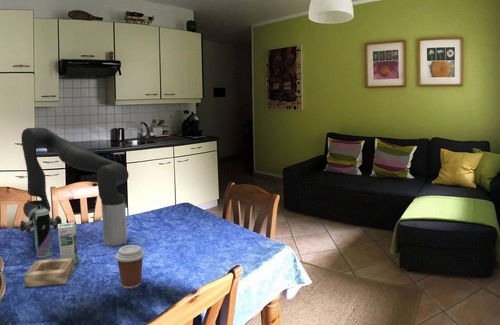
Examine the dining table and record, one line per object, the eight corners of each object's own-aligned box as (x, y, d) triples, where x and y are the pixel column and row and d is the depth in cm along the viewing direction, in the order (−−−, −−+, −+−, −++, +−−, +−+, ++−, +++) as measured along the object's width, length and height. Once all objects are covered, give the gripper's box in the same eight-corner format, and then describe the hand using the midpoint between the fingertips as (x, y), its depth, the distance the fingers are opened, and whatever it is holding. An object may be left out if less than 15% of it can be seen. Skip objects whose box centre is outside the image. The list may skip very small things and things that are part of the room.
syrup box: (61, 266, 140) (58, 228, 138) (60, 260, 146) (57, 223, 143) (78, 263, 143) (75, 225, 141) (77, 258, 148) (74, 221, 146)
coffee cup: (118, 292, 122) (116, 256, 120) (115, 280, 130) (113, 246, 128) (148, 287, 125) (146, 251, 124) (143, 275, 134) (142, 242, 132)
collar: (74, 268, 139) (73, 257, 138) (65, 283, 127) (64, 272, 127) (37, 271, 137) (36, 260, 136) (25, 287, 125) (24, 275, 124)
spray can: (45, 258, 148) (41, 207, 144) (33, 257, 149) (28, 206, 145) (55, 252, 153) (51, 203, 150) (43, 251, 154) (39, 202, 151)
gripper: (18, 211, 157) (19, 222, 143) (57, 206, 164) (62, 216, 151) (20, 229, 158) (21, 241, 145) (59, 223, 166) (63, 234, 152)
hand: (42, 228), depth 148 cm, fingers open, 8 cm apart
